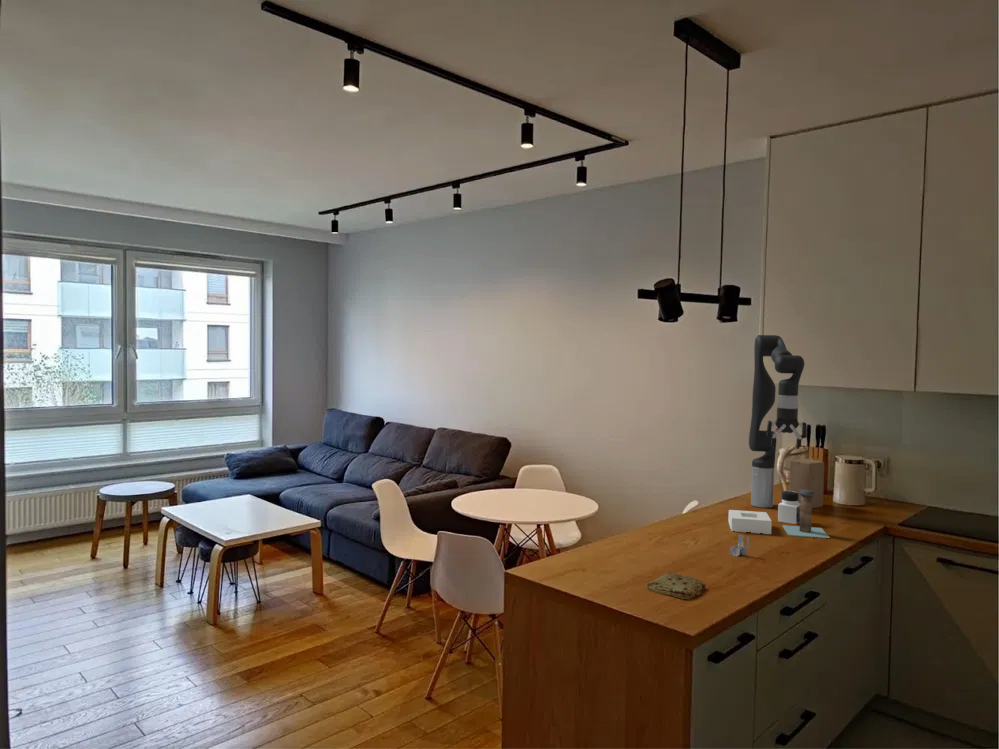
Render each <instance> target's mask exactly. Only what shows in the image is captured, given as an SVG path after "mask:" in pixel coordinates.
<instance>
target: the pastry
mask: <svg viewBox="0 0 999 749" xmlns="http://www.w3.org/2000/svg"><path fill="white" fill-rule="evenodd" d="M706 586H707V584H706V583H705V581H702V580H700V579H697V578H695V577H693V576H690V575H682V574H678V573H673V572H671V573H670V572H669V573H665V574H663V575H661V576H659V577H658V578H655V579H654V580H651V581H650V582H647V583H646V584H645V587H646V588H647V589H648V590H647V589H646V588H645V587H644V588H645V589H646V590H647V591H650V590H651V592H653V591H654V593H656V592H658V593H657V594H659V593H662V594H661V595H663V594H666V595H665V596H668V595H670V596H669V597H672V596H674V597H673V598H675V597H678V598H677V599H679V598H681V599H680V600H683V599H688V600H690V599H689V598H691V599H693V598H695V597H696V596H695V595H697V596H699V595H700V594H702V592H703V591H704V590H706ZM702 590H703V591H702ZM692 597H693V598H692Z"/></svg>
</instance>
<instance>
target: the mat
mask: <svg viewBox="0 0 999 749" xmlns="http://www.w3.org/2000/svg"><path fill="white" fill-rule="evenodd" d="M781 526H782V528H783V529H784V531H785V532H786V534H787V536H789V537H799V538H800V537H802V538H813V537H815V539H826V538H830V539H831V537H830V536H829V535H828V534H827V532H825V530H824V529H823V528H822V527H813V526H811V532H810V533H805V532H801V531H799V530H800V525H798V526H797V525H786V524H785V525H784V524H783V525H781ZM816 537H817V538H816Z"/></svg>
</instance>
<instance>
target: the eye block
mask: <svg viewBox="0 0 999 749" xmlns="http://www.w3.org/2000/svg"><path fill="white" fill-rule="evenodd" d="M727 521H728V525H729V528H730V531H731V532H733V531H735V533H746V532H751V533H750V534H760V533H763V534H762V535H772V524H773V523H772V519H771V518H770V516H769V514H768V513H767V512H766V511H751V510H739V509H738V510H737V509H728V520H727Z"/></svg>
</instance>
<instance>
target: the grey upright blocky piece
mask: <svg viewBox="0 0 999 749" xmlns="http://www.w3.org/2000/svg"><path fill="white" fill-rule="evenodd" d="M744 538H745V537H744V535H739V534H738V535H737V545H733V546H729V555H730V556H734V557H739V556H740V555H741V554H742V555H743V556H745V555H746V556H747V555H748V549H749V548H750V537H749V536H746V546H744Z"/></svg>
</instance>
